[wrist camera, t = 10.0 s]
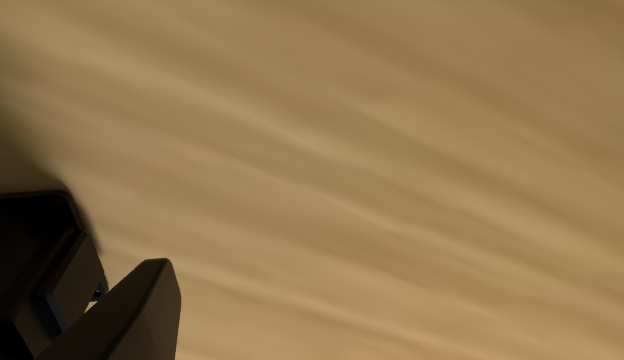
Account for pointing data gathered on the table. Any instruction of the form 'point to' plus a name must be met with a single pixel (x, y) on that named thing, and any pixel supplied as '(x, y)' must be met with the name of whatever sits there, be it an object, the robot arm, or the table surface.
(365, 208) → the table surface
